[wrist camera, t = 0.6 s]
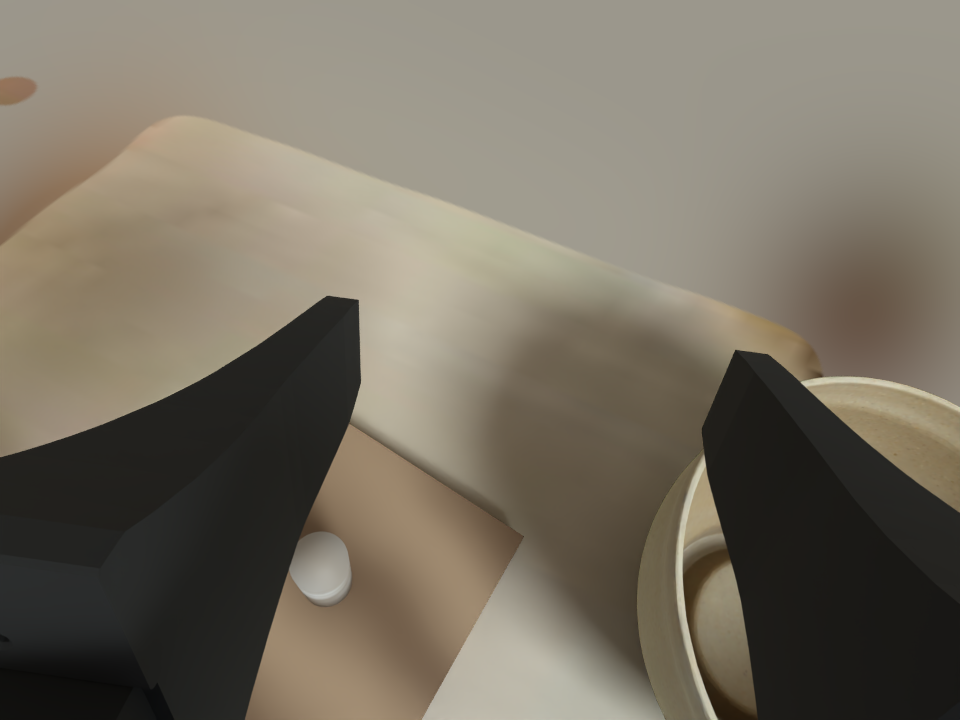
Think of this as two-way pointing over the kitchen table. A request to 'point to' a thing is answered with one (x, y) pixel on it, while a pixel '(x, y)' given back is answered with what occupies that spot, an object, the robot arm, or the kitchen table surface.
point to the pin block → (377, 592)
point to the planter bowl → (707, 566)
